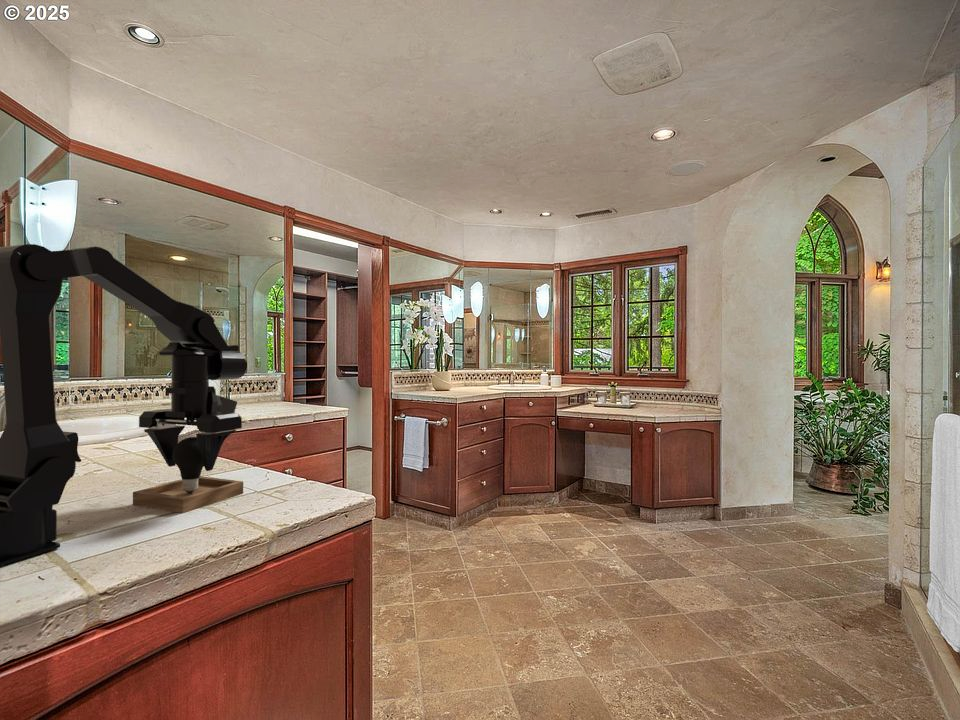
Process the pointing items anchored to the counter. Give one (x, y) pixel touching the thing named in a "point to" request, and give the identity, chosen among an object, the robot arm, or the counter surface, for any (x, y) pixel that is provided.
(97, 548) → the counter surface
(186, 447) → the light bulb
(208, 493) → the walnut tray
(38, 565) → the counter surface
